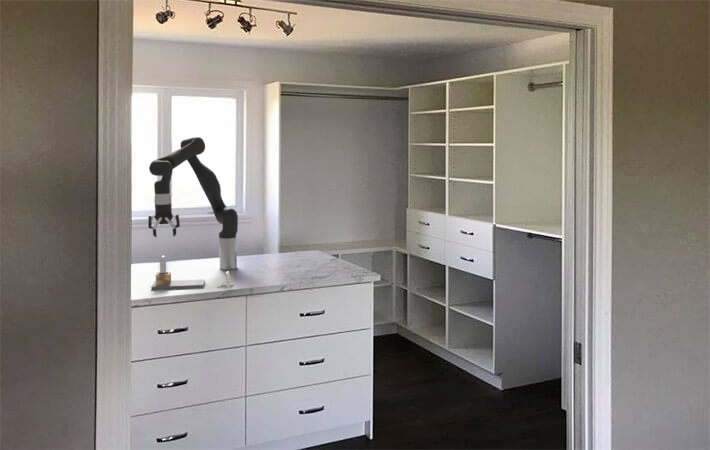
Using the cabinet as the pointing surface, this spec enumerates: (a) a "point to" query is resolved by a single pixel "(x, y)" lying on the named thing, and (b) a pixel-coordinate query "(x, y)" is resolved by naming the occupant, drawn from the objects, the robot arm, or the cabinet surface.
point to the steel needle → (162, 265)
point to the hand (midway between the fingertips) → (164, 236)
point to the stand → (227, 282)
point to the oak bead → (163, 278)
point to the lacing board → (180, 284)
